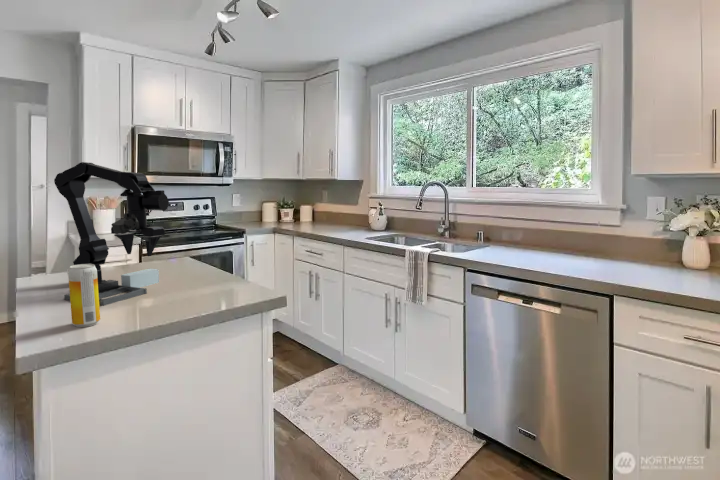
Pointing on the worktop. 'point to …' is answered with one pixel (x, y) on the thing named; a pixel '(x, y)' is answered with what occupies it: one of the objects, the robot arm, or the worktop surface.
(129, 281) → the panel
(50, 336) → the worktop surface
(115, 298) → the rack
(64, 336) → the worktop surface
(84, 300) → the beer can
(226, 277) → the worktop surface
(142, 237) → the robot arm
